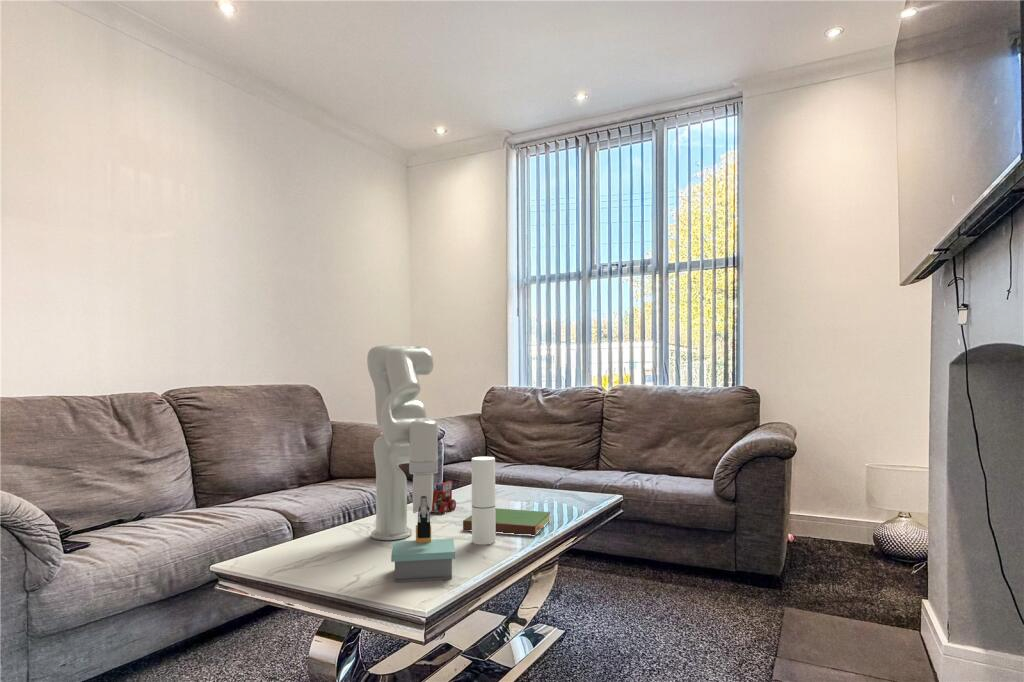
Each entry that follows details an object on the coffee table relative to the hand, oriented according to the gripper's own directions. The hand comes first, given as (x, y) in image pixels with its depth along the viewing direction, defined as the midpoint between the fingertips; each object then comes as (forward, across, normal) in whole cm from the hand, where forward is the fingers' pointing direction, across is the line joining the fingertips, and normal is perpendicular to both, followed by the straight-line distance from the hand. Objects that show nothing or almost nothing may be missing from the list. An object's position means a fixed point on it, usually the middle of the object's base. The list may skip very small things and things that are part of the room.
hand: (423, 532), depth 154 cm
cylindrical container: (+9, -21, +18) cm, 29 cm away
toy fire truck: (+9, -62, +6) cm, 63 cm away
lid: (+3, +4, 0) cm, 5 cm away
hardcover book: (+10, -37, +28) cm, 47 cm away
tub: (+9, +4, 0) cm, 10 cm away
